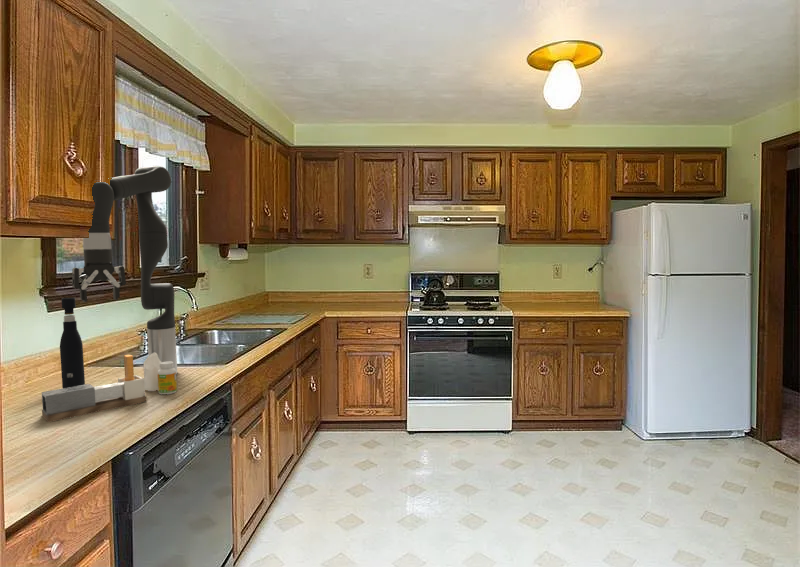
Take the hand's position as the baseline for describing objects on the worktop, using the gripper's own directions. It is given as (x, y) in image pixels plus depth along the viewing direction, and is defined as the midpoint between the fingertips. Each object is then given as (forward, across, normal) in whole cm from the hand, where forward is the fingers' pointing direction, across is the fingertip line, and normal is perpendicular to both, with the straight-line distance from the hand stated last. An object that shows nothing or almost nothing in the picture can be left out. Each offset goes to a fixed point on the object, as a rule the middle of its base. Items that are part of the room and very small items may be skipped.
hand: (100, 300), depth 163 cm
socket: (+29, +4, -11) cm, 31 cm away
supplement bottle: (+30, +15, -10) cm, 35 cm away
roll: (+30, +14, -2) cm, 33 cm away
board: (+30, -6, -12) cm, 33 cm away
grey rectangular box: (+29, -12, -11) cm, 33 cm away
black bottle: (+30, -4, +20) cm, 36 cm away
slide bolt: (+28, -2, -12) cm, 30 cm away
